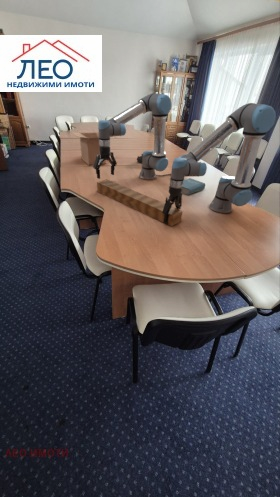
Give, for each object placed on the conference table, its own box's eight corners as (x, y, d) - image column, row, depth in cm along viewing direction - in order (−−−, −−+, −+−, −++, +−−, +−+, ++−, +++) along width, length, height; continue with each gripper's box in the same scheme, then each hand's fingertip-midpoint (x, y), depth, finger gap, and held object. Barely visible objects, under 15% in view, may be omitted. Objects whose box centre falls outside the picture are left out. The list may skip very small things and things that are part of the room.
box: (116, 165, 229) (116, 136, 213) (83, 168, 214) (80, 137, 198) (102, 154, 259) (101, 128, 243) (71, 156, 244) (68, 129, 228)
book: (188, 183, 198) (190, 178, 195) (204, 189, 190) (205, 183, 187) (173, 189, 185) (174, 183, 182) (188, 195, 176) (190, 189, 173)
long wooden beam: (97, 191, 172) (96, 182, 168) (107, 188, 179) (106, 179, 174) (171, 226, 136) (173, 215, 131) (180, 221, 142) (182, 210, 137)
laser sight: (156, 165, 238) (157, 155, 232) (135, 163, 241) (136, 153, 235) (157, 163, 245) (158, 153, 240) (137, 160, 248) (138, 151, 242)
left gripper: (93, 149, 144) (95, 181, 156) (121, 145, 159) (121, 174, 172) (86, 147, 148) (89, 178, 160) (114, 143, 163) (114, 171, 176)
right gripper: (169, 193, 119) (164, 228, 132) (191, 183, 133) (184, 216, 146) (158, 189, 122) (154, 224, 136) (181, 180, 136) (175, 212, 150)
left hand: (105, 176), depth 166 cm, fingers open, 13 cm apart
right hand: (170, 220), depth 141 cm, fingers closed on long wooden beam, 10 cm apart
